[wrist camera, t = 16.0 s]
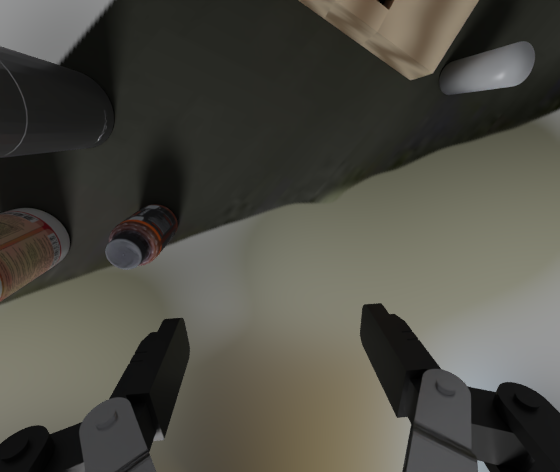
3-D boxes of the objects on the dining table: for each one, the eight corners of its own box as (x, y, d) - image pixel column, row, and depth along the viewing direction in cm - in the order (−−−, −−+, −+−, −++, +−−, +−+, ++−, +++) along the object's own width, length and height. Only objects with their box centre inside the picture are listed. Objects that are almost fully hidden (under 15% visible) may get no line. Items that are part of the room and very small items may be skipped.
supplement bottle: (146, 195, 39) (104, 220, 28) (184, 214, 40) (158, 244, 30) (132, 229, 41) (88, 264, 30) (170, 246, 42) (140, 284, 32)
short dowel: (435, 94, 36) (493, 85, 28) (443, 59, 35) (507, 39, 27) (461, 95, 37) (526, 87, 29) (470, 61, 35) (541, 42, 27)
